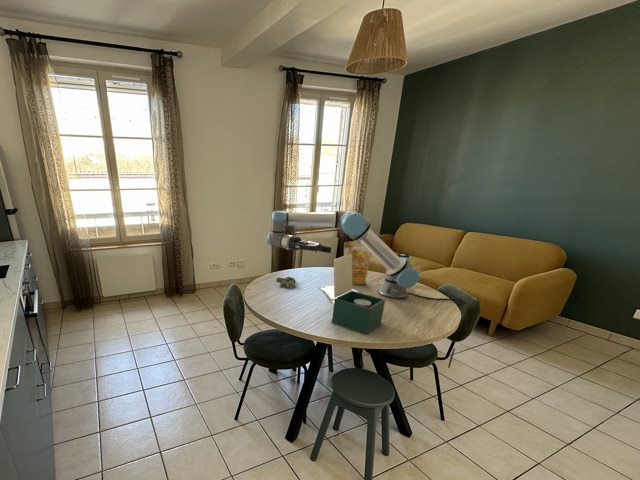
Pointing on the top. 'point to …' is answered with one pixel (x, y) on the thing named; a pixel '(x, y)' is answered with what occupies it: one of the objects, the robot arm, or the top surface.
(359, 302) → the canned food
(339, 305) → the tote
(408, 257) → the travel mug
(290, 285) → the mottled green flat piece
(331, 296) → the tray
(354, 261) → the pancake mix bag
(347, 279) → the lid
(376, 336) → the top surface
